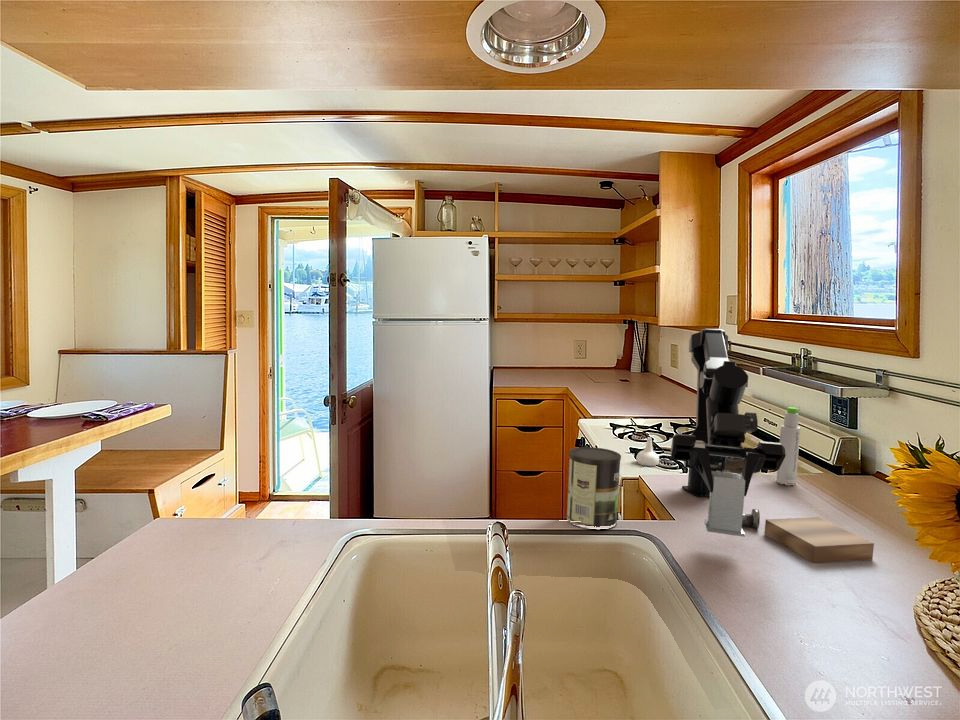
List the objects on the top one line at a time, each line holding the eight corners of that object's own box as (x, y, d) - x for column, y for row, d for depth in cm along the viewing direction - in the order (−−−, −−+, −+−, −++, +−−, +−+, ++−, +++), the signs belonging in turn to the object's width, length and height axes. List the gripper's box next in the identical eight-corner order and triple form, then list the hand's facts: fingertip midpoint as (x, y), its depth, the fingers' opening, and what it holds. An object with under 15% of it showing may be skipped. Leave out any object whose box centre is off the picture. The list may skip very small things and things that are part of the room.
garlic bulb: (645, 469, 145) (648, 442, 144) (631, 461, 151) (634, 435, 149) (663, 467, 147) (666, 441, 146) (648, 459, 153) (652, 434, 152)
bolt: (725, 525, 105) (727, 508, 104) (724, 519, 108) (725, 502, 108) (758, 530, 103) (760, 513, 102) (755, 523, 106) (757, 507, 106)
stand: (764, 534, 101) (765, 519, 101) (817, 531, 103) (818, 517, 103) (813, 563, 89) (815, 546, 89) (872, 559, 91) (874, 543, 91)
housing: (704, 522, 95) (708, 469, 94) (739, 527, 94) (744, 473, 93) (707, 531, 91) (711, 476, 90) (744, 536, 89) (749, 481, 89)
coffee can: (615, 513, 109) (619, 448, 108) (618, 533, 99) (623, 462, 98) (566, 508, 111) (569, 444, 110) (564, 527, 101) (568, 457, 100)
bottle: (781, 485, 133) (788, 409, 131) (773, 480, 137) (779, 406, 135) (799, 486, 133) (805, 409, 131) (789, 480, 137) (796, 406, 135)
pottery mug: (767, 477, 142) (761, 453, 139) (735, 490, 142) (729, 467, 139) (741, 454, 153) (735, 432, 150) (712, 467, 153) (705, 445, 150)
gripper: (675, 391, 97) (676, 464, 87) (787, 399, 91) (800, 478, 82) (670, 424, 105) (670, 494, 95) (772, 433, 100) (783, 508, 90)
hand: (728, 493), depth 90 cm, fingers closed on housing, 5 cm apart
